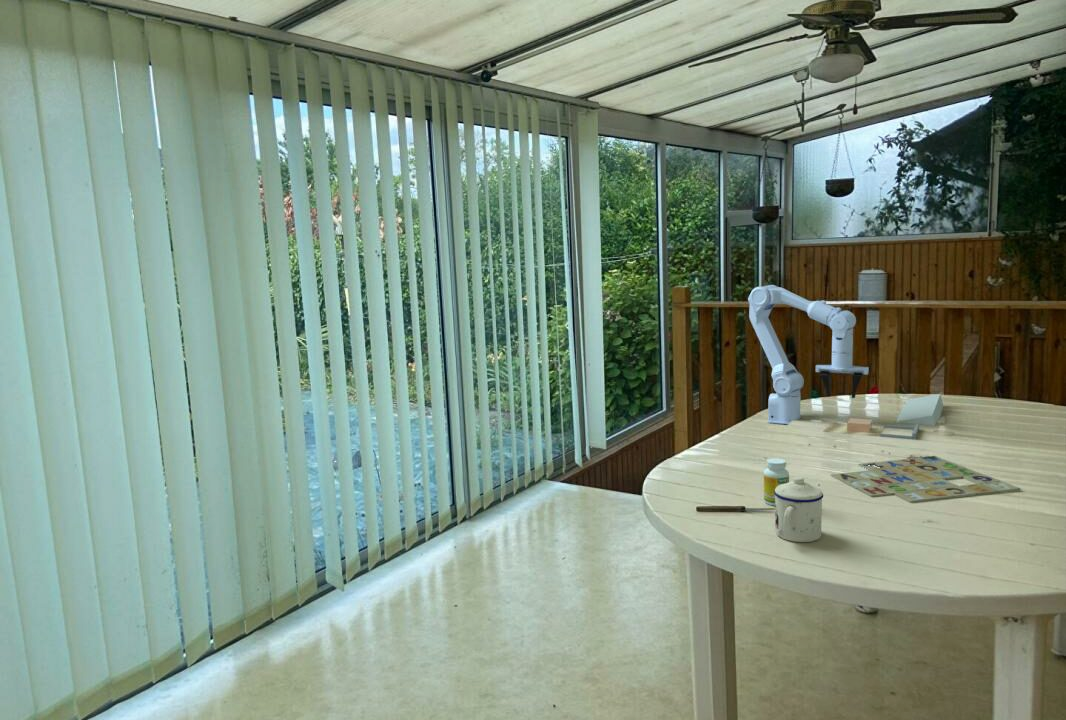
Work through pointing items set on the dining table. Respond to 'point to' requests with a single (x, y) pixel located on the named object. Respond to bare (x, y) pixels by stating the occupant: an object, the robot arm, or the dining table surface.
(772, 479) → the supplement bottle
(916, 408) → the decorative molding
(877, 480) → the alphabet tiles
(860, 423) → the tile
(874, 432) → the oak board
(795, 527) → the teacup with lid
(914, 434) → the tray
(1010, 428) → the dining table surface
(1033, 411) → the dining table surface
